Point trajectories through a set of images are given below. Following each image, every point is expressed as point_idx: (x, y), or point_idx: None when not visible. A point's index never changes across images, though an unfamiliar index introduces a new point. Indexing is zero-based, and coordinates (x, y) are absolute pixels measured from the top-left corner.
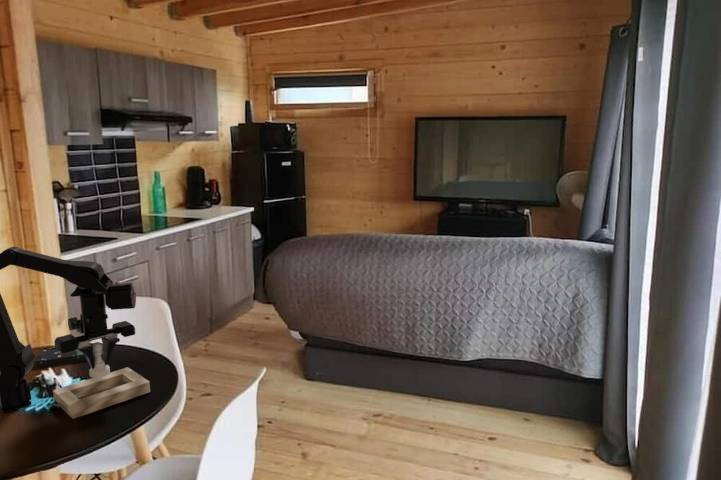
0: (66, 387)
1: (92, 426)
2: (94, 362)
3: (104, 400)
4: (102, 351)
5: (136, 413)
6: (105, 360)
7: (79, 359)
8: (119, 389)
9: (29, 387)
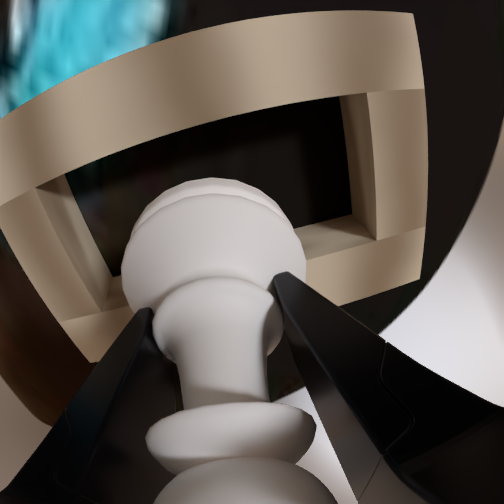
0: (15, 131)
1: None
2: (173, 356)
3: None
4: (300, 458)
5: (296, 368)
6: (293, 354)
7: None
8: None
9: None
